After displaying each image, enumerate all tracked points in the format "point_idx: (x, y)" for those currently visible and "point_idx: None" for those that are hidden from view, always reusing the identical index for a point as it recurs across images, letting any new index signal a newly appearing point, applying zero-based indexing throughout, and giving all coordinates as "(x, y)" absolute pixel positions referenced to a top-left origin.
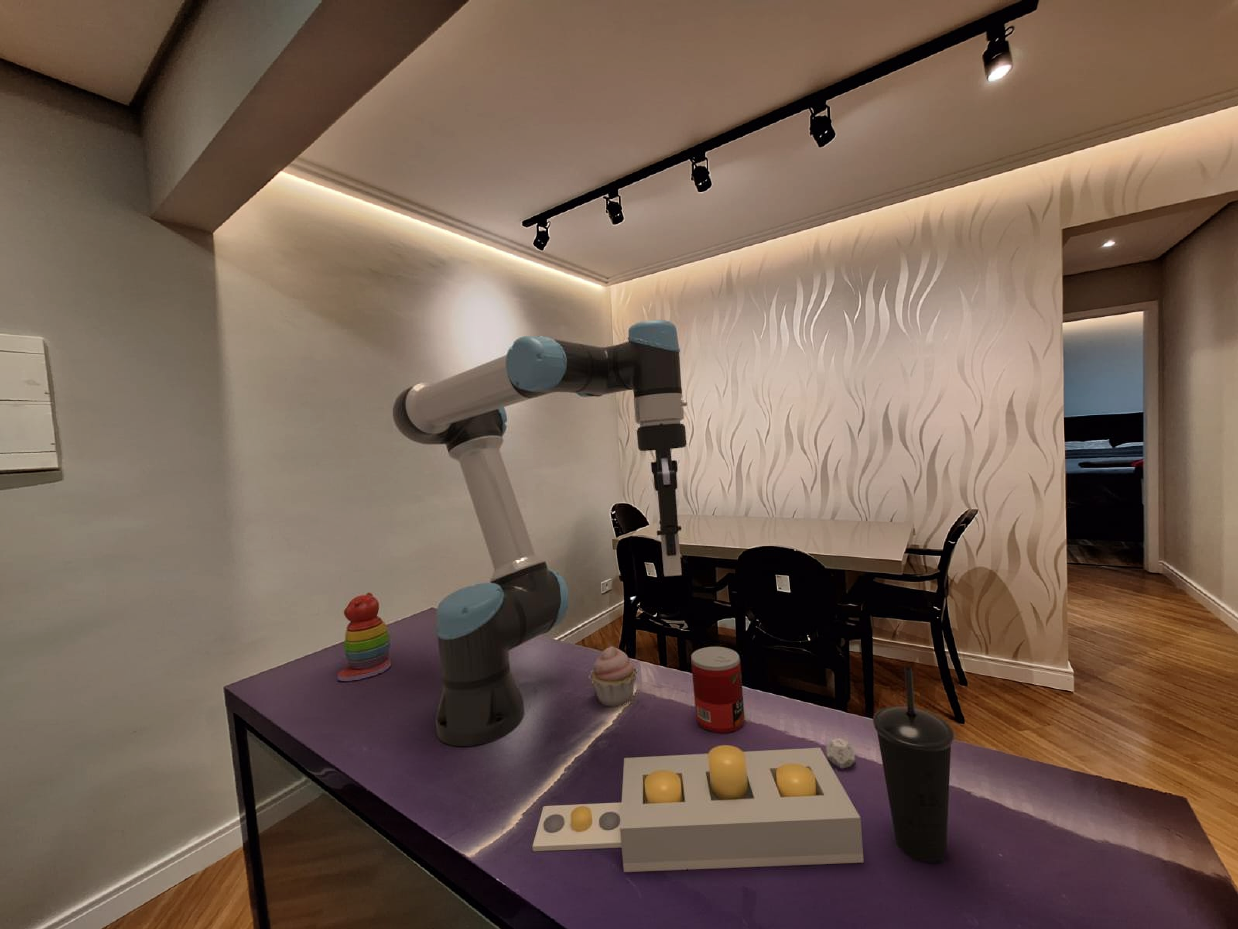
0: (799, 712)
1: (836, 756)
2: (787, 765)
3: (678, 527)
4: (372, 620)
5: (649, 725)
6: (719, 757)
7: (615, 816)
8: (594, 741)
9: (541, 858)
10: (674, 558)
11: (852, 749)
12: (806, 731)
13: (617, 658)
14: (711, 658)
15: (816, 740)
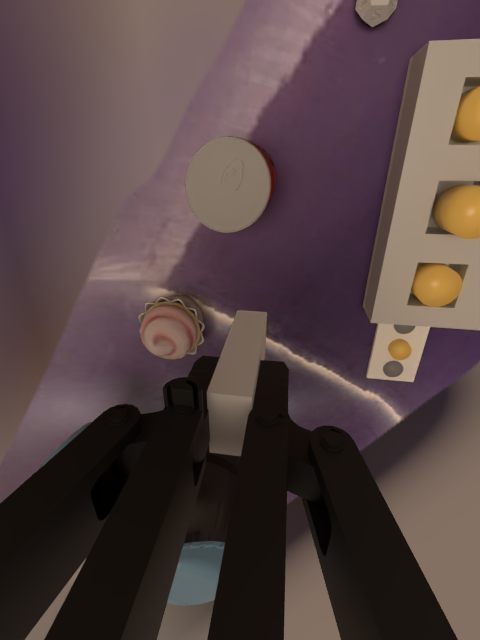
0: (234, 35)
1: (391, 10)
2: (467, 116)
3: (340, 442)
4: None
5: (244, 276)
6: (475, 224)
7: None
8: (268, 336)
9: (421, 372)
10: (261, 356)
11: None
12: (287, 40)
13: (173, 335)
14: (227, 194)
15: (313, 30)
